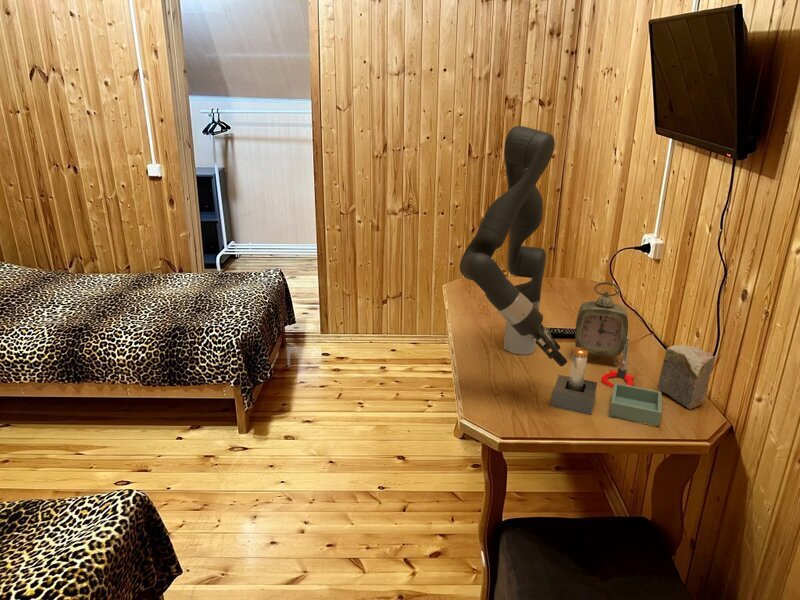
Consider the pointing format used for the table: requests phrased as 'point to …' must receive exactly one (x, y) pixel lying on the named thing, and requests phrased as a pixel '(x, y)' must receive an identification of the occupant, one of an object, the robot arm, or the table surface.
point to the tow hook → (620, 369)
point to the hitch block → (574, 396)
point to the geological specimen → (686, 374)
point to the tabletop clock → (602, 326)
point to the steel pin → (578, 369)
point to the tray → (636, 404)
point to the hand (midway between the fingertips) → (560, 356)
